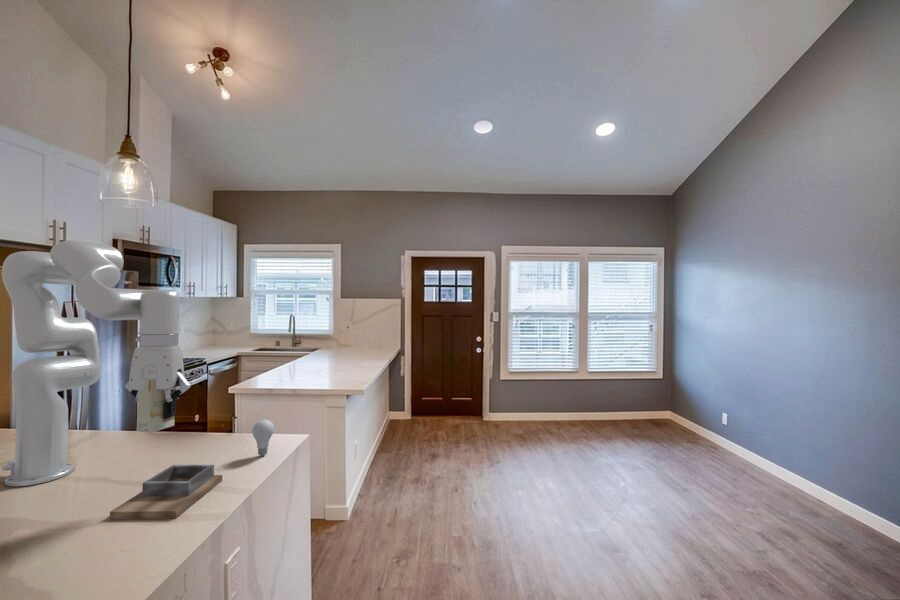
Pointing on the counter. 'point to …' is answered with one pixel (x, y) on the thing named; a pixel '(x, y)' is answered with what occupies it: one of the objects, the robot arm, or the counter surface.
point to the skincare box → (152, 409)
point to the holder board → (169, 493)
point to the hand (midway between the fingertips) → (157, 416)
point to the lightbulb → (263, 435)
